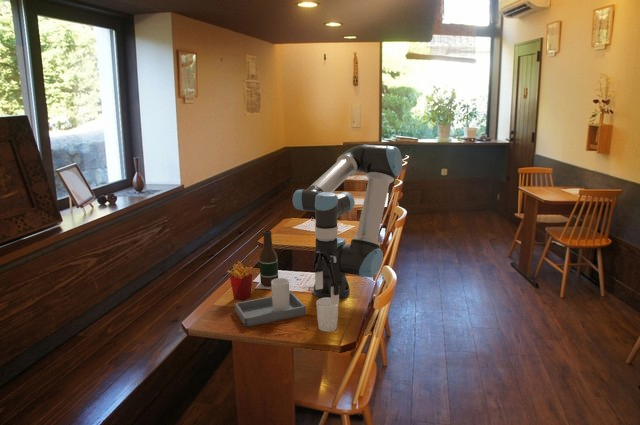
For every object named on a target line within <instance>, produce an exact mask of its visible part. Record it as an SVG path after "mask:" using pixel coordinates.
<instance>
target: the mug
mask: <svg viewBox="0 0 640 425" xmlns="http://www.w3.org/2000/svg"><path fill="white" fill-rule="evenodd" d="M270 288H271V296H272V302H273V312H276V311H281V310H286V309H289V293H290V280H289V279H287V278H284V277H278V278H277V279H274V280H272V281H271V287H270Z"/></svg>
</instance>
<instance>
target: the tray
mask: <svg viewBox="0 0 640 425" xmlns="http://www.w3.org/2000/svg"><path fill="white" fill-rule="evenodd" d="M234 313H236V315H237V316H238V318H239V320H240V321H241V322H242V324H243V326H244V327H245V328H250V327H256V326H261V325H264V324H270V323H273V322H279V321H283V320H289V319H295V318H298V317H303V316H304V317H305V316H306V315H307V306H306V305H305V304H304V303H303V301H301V300H300V299H299V297H298V296H297V295H295V294H294V293H293V292H289V309H286V310H281V311H276V312H273V302H272V295H271V296H266V297H262V298H261V297H260V298H256V299H250V300H245V301H239V302H236V303H235V302H234Z"/></svg>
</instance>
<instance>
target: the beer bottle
mask: <svg viewBox="0 0 640 425" xmlns="http://www.w3.org/2000/svg"><path fill="white" fill-rule="evenodd" d="M262 234H263V247H262V251H261V252H260V254H259V275H260V278H259V280H260V285H261V286H263V287H265V288H266V287H267V288H271V281H272V280H274V279H277V278H279V263H278V262H279V261H278V260H279V259H278V254H277V252H276V251H275V249H274V247H273V238H272V234H273V232H272V230H270V229H266V230H263V232H262Z"/></svg>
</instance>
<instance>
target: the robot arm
mask: <svg viewBox="0 0 640 425" xmlns="http://www.w3.org/2000/svg"><path fill="white" fill-rule="evenodd" d="M402 171H403V157H402V153H401V150H400V148H398V147H397V146H391V145H375V144H360V145H356V146H353V147H351V148H350V149H347V150H346V151H344V152H343V153H341V154H340V155H339V156H338V157H337V158H336V162H335V163H334V164H332V165H331V167H329V169H327V170H326V172H324V173H323V174H322V175H321V176H320V177H318V178H317V180H315V181H314V182H313V183H312V184H311V185H310V186H309V187H307V189H303V188H302V189H296V190H295V192H294V193H293V195H292V205H293V207H294V208H295V209H296V210H299V211H304V212H312V213H313V212H314V215H315V224H314V225H315V226H314V230H315V231H314V232H315V234H314V236H315V237H314V238H315V249H314V250H315V252H314V256H313V260H312V261H313V262H312V264H311V265H312V266H311V267H312V269H313V271H314V275H315V276H314V280H315V281H314V284H313V286H312V287H313V288H312V290H313V291H312V292H313V296H314V297H316V298H317V299H321V298H327V297H329V298H331V304H334V303H338V304H339V303H340V300H344V299H345V298H348V297H349V295H350V293H351V292H350V290H351V289H350V285H349V282H348V279H347V276H346V274H348V275H354V276H357V277H361V278H374V277H375V276H376V275H377V274H378V273H379V271H380V270H381V267H382V265H383V261H384V257H383V256H384V253H383V249H381V248H380V247H381V244H380V243H379V241H378V239H379V234H380V229H381V225H382V219H383V215H384V210H385V207H386V201H387V196H388V192H389V189H390V188H389V187H390V184H391V183H393V182H395V181H394V180H395V178H396V177H398V176H400V175H401V173H402ZM359 173H365V176H366V177H367V180H368V181H367V185H366V188H365V195H364V198H363V203H362V209H361V212H360V216H359V217H360V218H359V221H358V222H359V223H358V227H357V230H356V235H355V236H354V237H353V238H351V240H350V244H349V243H346V239H345V238H343V237H338V229H339V228H338V218H339V217H341V216H343V215H346V214H348V213H350V212H351V211H352V210H353V209H354V207H355V203H356V202H355V198H354V197H353V194H352V193H350V192H347V191H341V192H338V193H335V190H336V189H338V188H339V186H340V185H342V184H343V183H344V182H345V181H346V180H347V179H348V178H349V177H352V176H354V175H355V174H359Z"/></svg>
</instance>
